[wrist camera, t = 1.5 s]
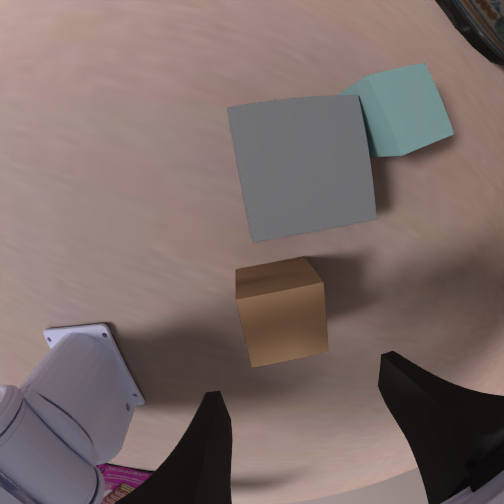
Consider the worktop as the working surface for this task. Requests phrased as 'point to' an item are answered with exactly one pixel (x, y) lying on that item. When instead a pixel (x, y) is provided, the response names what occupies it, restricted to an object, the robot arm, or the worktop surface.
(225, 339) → the worktop surface
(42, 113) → the worktop surface
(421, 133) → the teal cube
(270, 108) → the base block
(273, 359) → the walnut cube
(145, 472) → the candy bar box
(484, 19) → the beer stein
